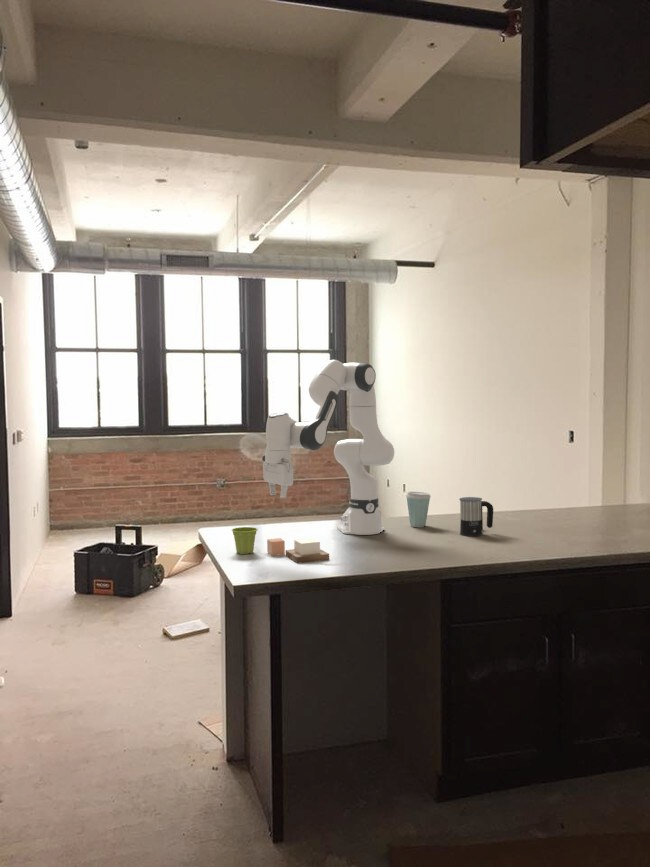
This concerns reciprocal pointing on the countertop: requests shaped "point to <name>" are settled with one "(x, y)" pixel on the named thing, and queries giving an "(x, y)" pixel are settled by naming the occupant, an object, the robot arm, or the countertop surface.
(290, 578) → the countertop surface
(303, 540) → the cream block
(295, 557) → the walnut base
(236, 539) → the plant pot
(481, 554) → the countertop surface
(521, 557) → the countertop surface
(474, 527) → the milk frother
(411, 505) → the disposable coffee cup
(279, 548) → the terracotta cube
